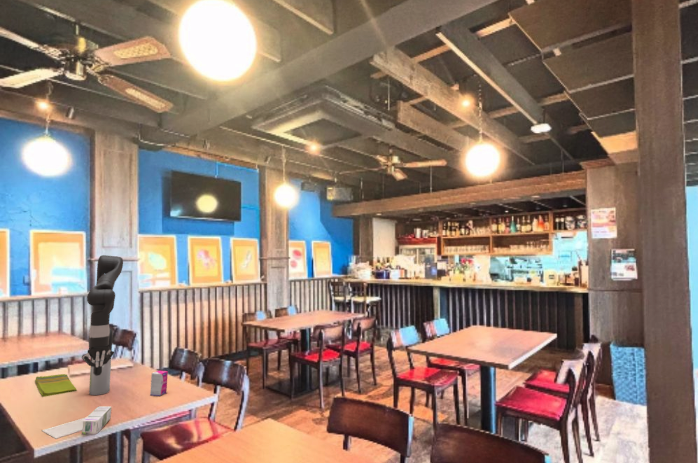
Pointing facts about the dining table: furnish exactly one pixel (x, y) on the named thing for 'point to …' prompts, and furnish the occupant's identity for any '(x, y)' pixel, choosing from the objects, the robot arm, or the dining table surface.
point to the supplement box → (158, 383)
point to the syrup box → (96, 420)
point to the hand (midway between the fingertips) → (97, 375)
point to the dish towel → (54, 385)
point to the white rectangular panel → (65, 429)
